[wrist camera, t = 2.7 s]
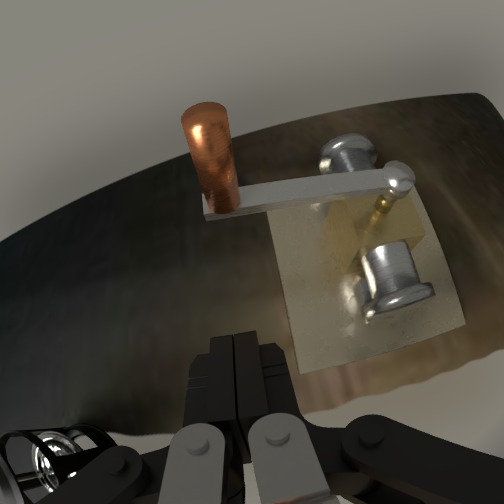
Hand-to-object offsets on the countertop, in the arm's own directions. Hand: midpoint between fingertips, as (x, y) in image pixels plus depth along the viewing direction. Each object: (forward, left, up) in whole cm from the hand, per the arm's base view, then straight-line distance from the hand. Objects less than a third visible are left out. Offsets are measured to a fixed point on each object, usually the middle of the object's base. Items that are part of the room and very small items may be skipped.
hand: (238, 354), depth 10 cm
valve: (-14, -10, -21) cm, 27 cm away
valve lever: (-7, -12, -9) cm, 16 cm away
